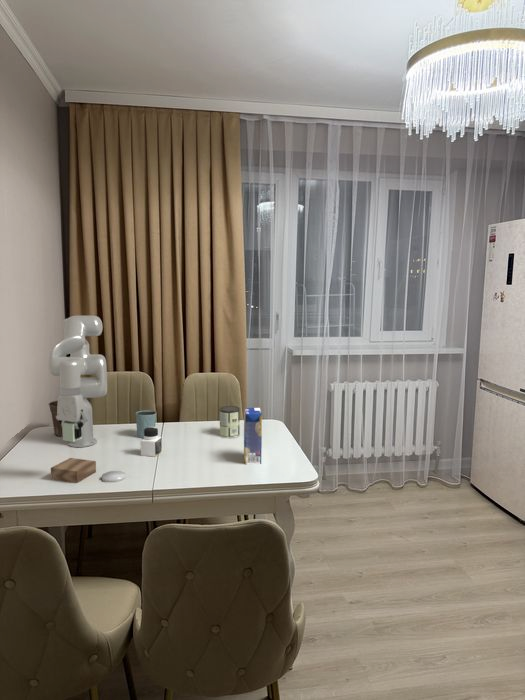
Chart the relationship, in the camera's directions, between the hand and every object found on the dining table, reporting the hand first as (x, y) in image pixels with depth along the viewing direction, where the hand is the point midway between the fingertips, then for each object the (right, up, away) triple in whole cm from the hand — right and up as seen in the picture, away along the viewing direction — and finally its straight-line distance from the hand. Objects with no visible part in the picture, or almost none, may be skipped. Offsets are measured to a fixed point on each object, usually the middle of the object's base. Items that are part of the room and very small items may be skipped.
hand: (72, 436), depth 202 cm
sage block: (0, -1, 0) cm, 1 cm away
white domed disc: (+16, -17, +1) cm, 23 cm away
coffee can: (+58, -9, +58) cm, 83 cm away
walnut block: (0, -16, +2) cm, 17 cm away
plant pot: (-24, -8, +58) cm, 63 cm away
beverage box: (+70, -14, +23) cm, 75 cm away
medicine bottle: (+25, -13, +29) cm, 40 cm away
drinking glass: (+17, -9, +55) cm, 59 cm away
